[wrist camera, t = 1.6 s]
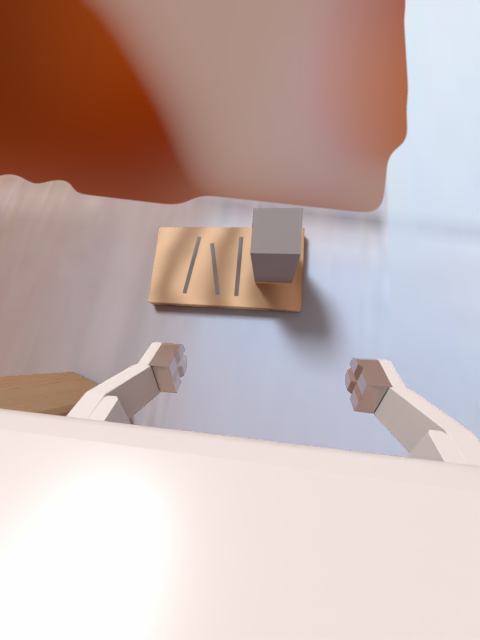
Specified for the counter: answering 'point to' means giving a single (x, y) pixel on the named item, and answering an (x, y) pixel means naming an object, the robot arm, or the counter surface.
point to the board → (216, 272)
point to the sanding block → (276, 244)
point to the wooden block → (43, 392)
